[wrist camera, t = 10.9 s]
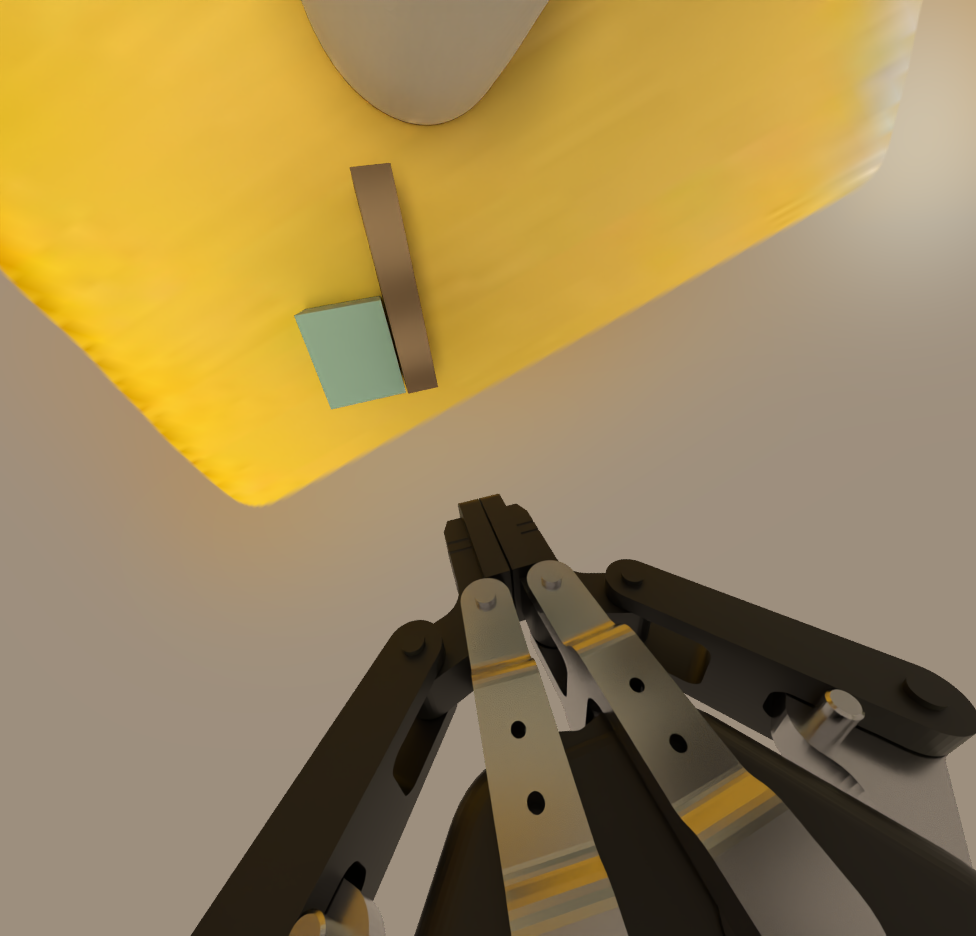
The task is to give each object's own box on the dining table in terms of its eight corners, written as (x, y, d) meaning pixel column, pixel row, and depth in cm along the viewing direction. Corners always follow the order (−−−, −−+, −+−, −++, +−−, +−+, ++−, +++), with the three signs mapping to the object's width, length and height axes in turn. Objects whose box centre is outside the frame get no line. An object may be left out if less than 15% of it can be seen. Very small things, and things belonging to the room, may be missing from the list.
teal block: (305, 309, 29) (294, 315, 25) (379, 295, 30) (380, 299, 26) (336, 391, 33) (331, 409, 28) (401, 377, 34) (405, 392, 29)
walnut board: (354, 187, 26) (349, 167, 21) (386, 183, 26) (390, 163, 21) (402, 374, 33) (408, 393, 28) (428, 369, 34) (438, 387, 29)
